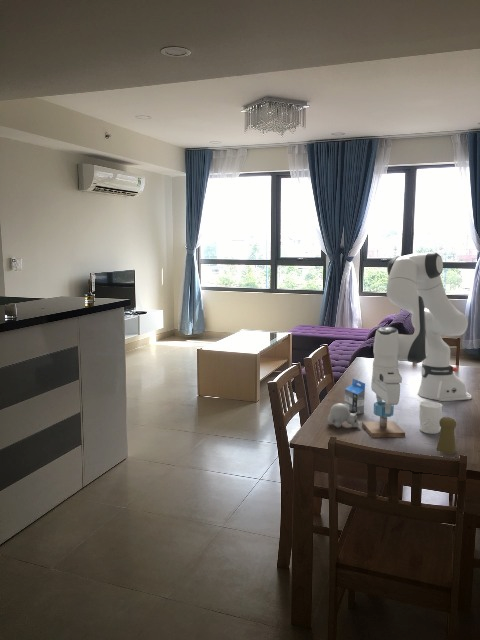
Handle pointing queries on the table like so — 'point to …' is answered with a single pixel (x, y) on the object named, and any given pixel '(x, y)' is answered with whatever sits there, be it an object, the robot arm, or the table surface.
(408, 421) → the table surface
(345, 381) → the table surface
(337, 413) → the round bodied animal figurine
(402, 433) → the post block
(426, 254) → the robot arm
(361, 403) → the blue printed box
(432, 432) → the white cup
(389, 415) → the ring
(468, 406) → the table surface
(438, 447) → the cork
